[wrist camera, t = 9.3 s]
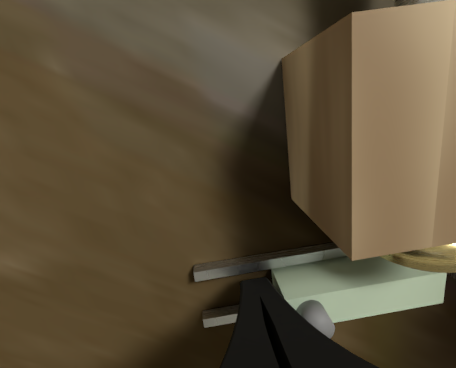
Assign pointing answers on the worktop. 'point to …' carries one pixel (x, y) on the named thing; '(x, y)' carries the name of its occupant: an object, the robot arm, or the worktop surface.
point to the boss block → (376, 129)
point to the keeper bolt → (355, 289)
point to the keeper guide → (259, 264)
